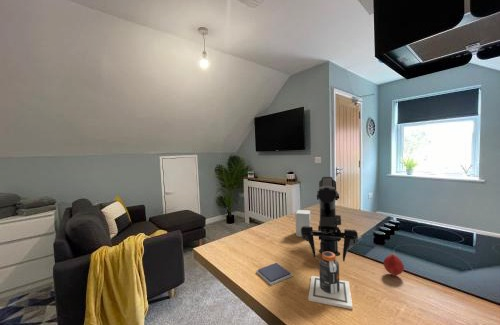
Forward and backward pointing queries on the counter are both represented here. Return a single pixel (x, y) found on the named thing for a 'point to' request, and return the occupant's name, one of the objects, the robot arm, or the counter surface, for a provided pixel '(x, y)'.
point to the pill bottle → (329, 273)
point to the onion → (393, 265)
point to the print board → (331, 299)
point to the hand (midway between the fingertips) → (328, 259)
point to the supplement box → (302, 220)
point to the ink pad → (274, 273)
